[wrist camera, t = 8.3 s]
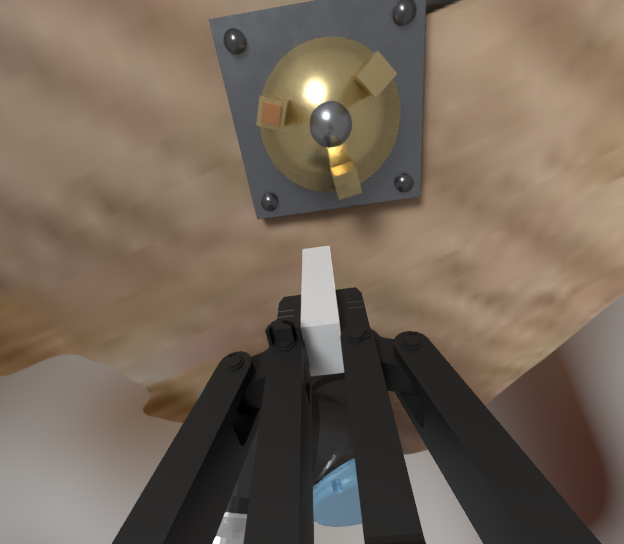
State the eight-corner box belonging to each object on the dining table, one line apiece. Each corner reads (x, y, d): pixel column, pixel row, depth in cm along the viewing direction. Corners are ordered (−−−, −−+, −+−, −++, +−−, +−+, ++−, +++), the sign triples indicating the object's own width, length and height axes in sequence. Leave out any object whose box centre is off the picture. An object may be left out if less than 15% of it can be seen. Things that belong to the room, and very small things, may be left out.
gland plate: (415, 191, 41) (421, 198, 39) (259, 213, 43) (256, 221, 40) (419, -15, 31) (428, -22, 29) (214, 22, 32) (207, 18, 30)
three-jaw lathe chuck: (414, 59, 32) (436, 56, 27) (371, 195, 39) (382, 215, 34) (272, 21, 31) (264, 10, 25) (254, 171, 38) (245, 188, 32)
